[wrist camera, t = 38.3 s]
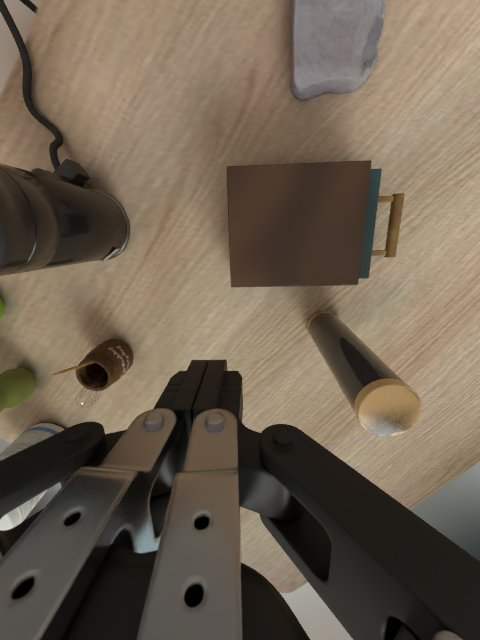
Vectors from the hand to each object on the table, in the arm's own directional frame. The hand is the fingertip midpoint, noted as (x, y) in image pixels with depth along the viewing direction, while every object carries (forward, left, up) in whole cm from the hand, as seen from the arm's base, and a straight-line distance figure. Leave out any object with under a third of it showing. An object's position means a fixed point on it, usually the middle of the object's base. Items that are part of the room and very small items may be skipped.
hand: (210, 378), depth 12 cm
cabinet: (-2, +9, -29) cm, 30 cm away
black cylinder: (+13, +6, -29) cm, 33 cm away
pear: (-8, -40, -29) cm, 50 cm away
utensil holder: (-2, -24, -29) cm, 38 cm away
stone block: (-16, +25, -29) cm, 42 cm away
